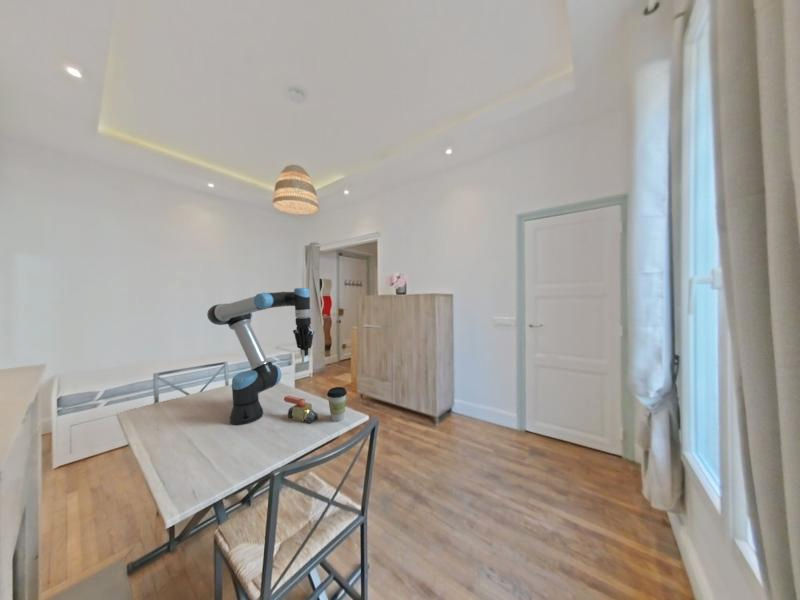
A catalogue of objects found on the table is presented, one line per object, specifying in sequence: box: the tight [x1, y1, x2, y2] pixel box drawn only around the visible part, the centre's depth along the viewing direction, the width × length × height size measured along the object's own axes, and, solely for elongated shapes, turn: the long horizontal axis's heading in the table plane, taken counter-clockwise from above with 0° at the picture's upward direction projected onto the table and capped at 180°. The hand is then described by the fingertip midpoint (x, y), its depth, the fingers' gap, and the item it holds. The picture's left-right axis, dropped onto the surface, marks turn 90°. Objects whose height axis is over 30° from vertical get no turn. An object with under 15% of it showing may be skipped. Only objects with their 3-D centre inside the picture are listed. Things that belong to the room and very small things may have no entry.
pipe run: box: [287, 402, 319, 425], centre depth 140 cm, size 16×6×8 cm, turn 65°
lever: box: [283, 395, 307, 406], centre depth 142 cm, size 14×3×3 cm, turn 64°
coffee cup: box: [326, 386, 348, 423], centre depth 139 cm, size 10×10×15 cm
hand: (304, 361), depth 144 cm, fingers closed
